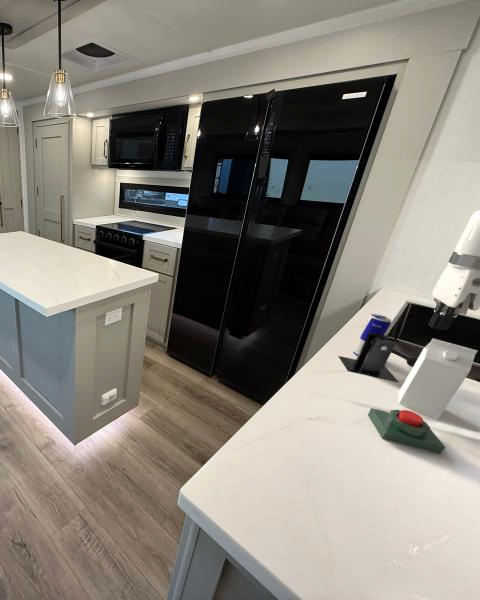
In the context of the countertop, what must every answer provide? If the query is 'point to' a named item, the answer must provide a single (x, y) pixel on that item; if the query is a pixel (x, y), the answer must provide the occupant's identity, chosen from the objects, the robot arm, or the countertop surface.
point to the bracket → (372, 358)
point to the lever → (401, 355)
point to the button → (410, 418)
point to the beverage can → (373, 329)
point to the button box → (405, 431)
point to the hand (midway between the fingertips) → (437, 327)
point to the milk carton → (436, 377)
